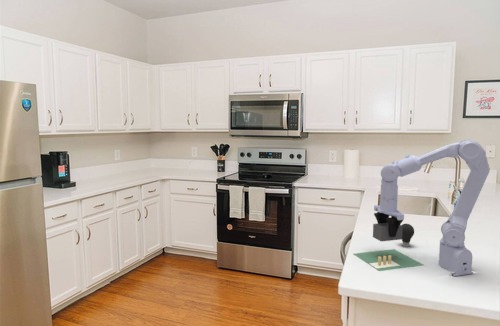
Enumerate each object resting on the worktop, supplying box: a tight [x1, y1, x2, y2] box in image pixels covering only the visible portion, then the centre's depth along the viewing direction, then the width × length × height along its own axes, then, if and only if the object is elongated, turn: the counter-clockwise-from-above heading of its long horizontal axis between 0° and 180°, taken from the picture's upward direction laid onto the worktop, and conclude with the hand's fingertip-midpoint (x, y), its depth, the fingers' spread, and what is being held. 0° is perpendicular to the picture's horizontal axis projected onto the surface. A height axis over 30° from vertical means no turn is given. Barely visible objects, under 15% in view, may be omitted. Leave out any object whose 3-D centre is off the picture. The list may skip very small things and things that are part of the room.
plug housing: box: [372, 222, 403, 242], centre depth 126 cm, size 5×9×5 cm, turn 104°
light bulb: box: [401, 223, 415, 248], centre depth 138 cm, size 6×6×10 cm
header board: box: [353, 248, 424, 272], centre depth 124 cm, size 16×18×4 cm
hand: (387, 234), depth 126 cm, fingers closed on plug housing, 5 cm apart
